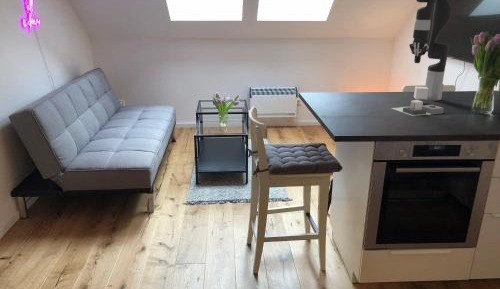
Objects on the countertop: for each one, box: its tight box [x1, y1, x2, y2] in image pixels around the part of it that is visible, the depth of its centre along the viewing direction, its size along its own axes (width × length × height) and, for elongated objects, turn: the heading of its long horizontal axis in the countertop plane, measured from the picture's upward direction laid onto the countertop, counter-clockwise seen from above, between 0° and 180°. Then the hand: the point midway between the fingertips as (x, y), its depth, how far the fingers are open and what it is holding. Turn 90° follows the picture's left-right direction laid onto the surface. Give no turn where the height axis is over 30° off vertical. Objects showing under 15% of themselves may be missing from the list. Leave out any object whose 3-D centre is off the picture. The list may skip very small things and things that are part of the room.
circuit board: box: [390, 104, 444, 117], centre depth 216 cm, size 20×17×4 cm
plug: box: [409, 99, 424, 110], centre depth 211 cm, size 5×4×6 cm
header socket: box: [402, 106, 426, 115], centre depth 212 cm, size 8×8×2 cm
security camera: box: [413, 86, 429, 101], centre depth 232 cm, size 6×7×10 cm
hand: (416, 63), depth 215 cm, fingers closed
